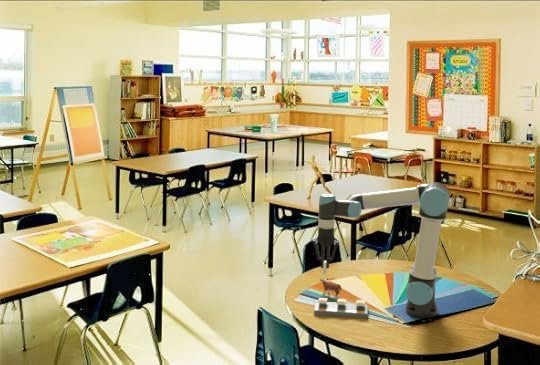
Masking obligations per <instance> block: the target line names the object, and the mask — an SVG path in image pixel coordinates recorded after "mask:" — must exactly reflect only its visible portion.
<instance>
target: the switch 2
mask: <svg viewBox="0 0 540 365" xmlns="http://www.w3.org/2000/svg"><path fill="white" fill-rule="evenodd" d="M355 304H356V306H365V304H366V301H365V299H362V300H361V299H356V302H355Z"/></svg>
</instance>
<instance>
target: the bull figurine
mask: <svg viewBox="0 0 540 365" xmlns="http://www.w3.org/2000/svg"><path fill="white" fill-rule="evenodd" d="M319 280H320V282H321V283H322V285H323V288H324V289H323V290H324V291H323V293H322V295H326V292H327V294H328V295H330V294H331V293H334V292H335V294H334V296H335V297H334V298H335V299H338V296H339V295H340V294H341V290H342V287H341V286H342V285H340V284H338V283H336V282H333V281H330V280H329V279H328V278H325V277H322V278H321V279H319ZM330 291H331V292H330Z"/></svg>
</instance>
